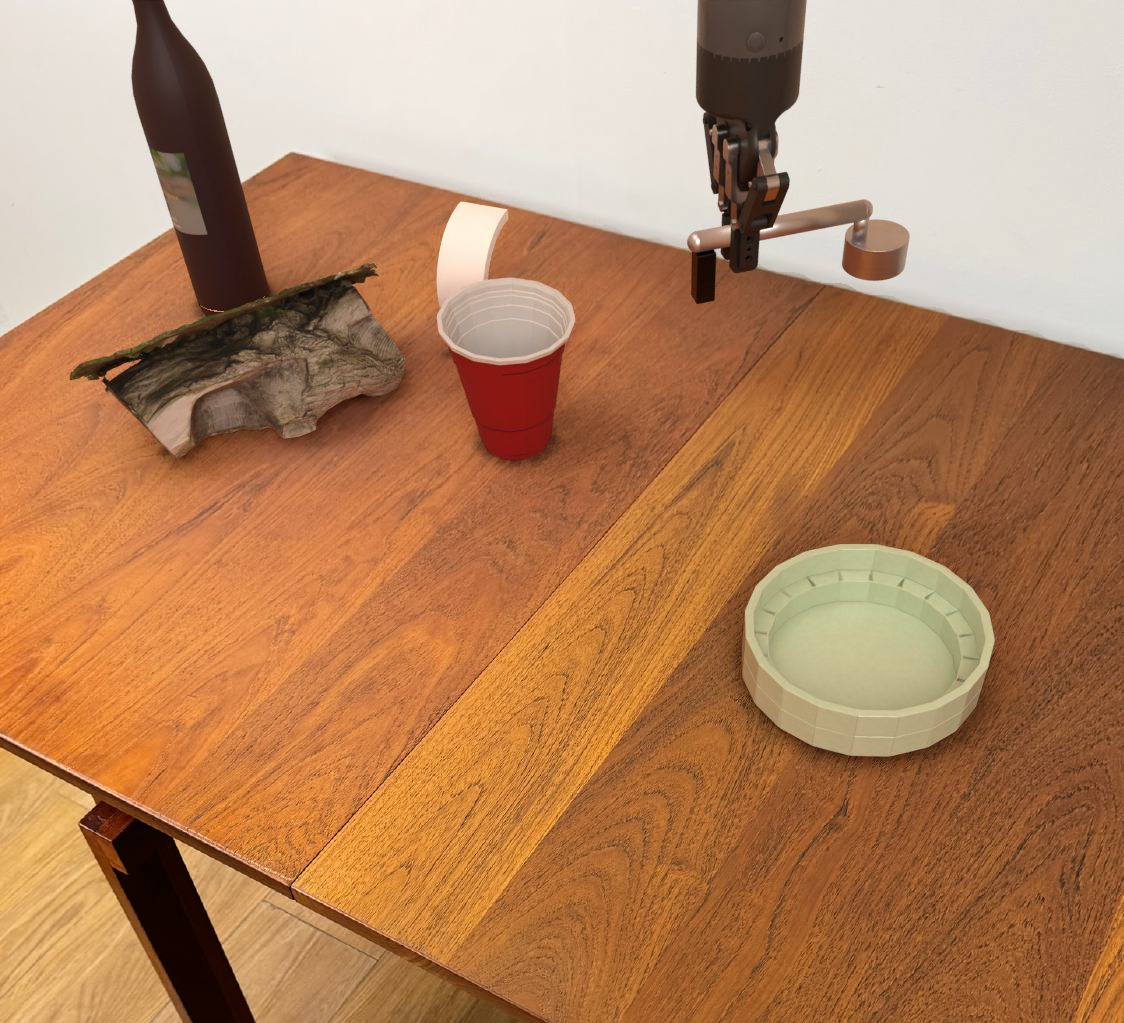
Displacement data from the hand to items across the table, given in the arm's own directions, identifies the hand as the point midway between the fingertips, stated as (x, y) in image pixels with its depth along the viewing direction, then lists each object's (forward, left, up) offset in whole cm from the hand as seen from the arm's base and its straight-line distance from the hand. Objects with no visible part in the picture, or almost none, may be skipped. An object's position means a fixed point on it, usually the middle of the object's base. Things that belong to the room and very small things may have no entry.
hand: (738, 262), depth 99 cm
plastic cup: (+20, +3, -11) cm, 23 cm away
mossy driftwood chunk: (+41, -8, -11) cm, 43 cm away
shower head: (-5, 0, -2) cm, 6 cm away
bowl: (+3, +36, -11) cm, 38 cm away
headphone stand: (+20, -12, -11) cm, 26 cm away
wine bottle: (+42, -28, -11) cm, 52 cm away
